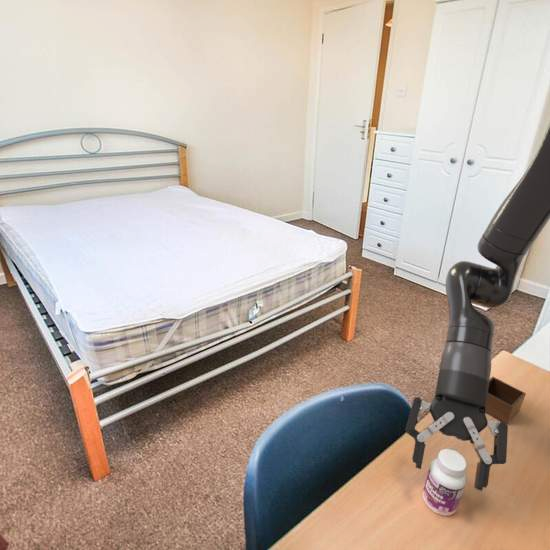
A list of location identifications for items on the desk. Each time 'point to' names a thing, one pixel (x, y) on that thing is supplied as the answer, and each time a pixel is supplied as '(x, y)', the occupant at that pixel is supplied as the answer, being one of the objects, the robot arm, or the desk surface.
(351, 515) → the desk surface
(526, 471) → the desk surface
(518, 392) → the dark brown open bin
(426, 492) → the pill bottle
